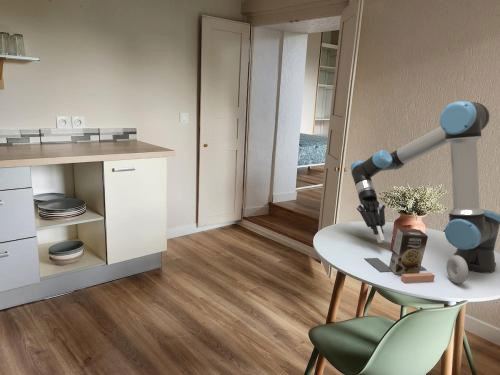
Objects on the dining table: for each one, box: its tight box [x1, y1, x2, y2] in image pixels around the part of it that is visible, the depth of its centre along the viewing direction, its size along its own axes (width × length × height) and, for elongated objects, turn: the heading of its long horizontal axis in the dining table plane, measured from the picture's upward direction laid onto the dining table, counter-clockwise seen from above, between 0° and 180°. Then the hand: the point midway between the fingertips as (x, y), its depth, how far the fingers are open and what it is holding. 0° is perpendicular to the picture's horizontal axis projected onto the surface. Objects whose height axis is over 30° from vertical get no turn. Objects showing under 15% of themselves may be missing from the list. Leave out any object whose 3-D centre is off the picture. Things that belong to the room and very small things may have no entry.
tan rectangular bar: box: [400, 272, 435, 284], centre depth 140 cm, size 12×2×2 cm, turn 103°
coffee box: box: [388, 228, 429, 276], centre depth 145 cm, size 9×6×16 cm
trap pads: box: [364, 257, 428, 273], centre depth 153 cm, size 20×12×1 cm, turn 103°
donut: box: [445, 254, 469, 284], centre depth 141 cm, size 10×4×10 cm, turn 4°
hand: (381, 241), depth 163 cm, fingers closed
